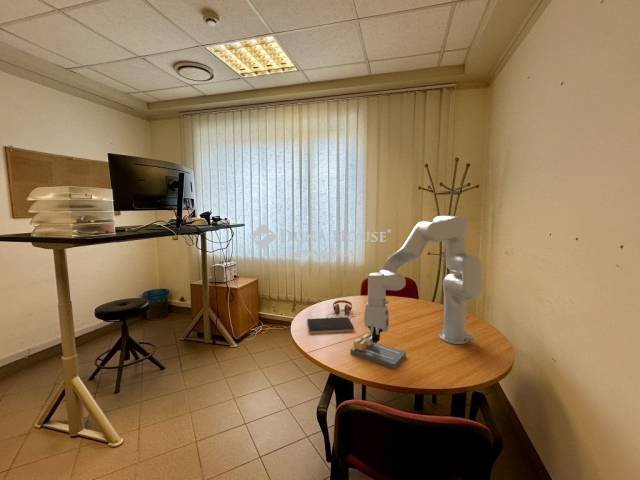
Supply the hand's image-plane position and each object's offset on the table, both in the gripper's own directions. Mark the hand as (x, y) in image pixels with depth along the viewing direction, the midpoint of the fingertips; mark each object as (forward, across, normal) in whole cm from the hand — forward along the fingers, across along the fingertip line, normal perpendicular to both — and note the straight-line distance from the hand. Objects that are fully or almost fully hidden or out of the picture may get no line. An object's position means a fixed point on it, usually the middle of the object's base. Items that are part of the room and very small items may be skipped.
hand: (375, 341), depth 125 cm
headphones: (+4, +36, -28) cm, 46 cm away
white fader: (+2, +4, 0) cm, 4 cm away
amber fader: (+2, +4, +6) cm, 8 cm away
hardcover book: (+5, +31, -9) cm, 33 cm away
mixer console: (+4, -2, +3) cm, 6 cm away
